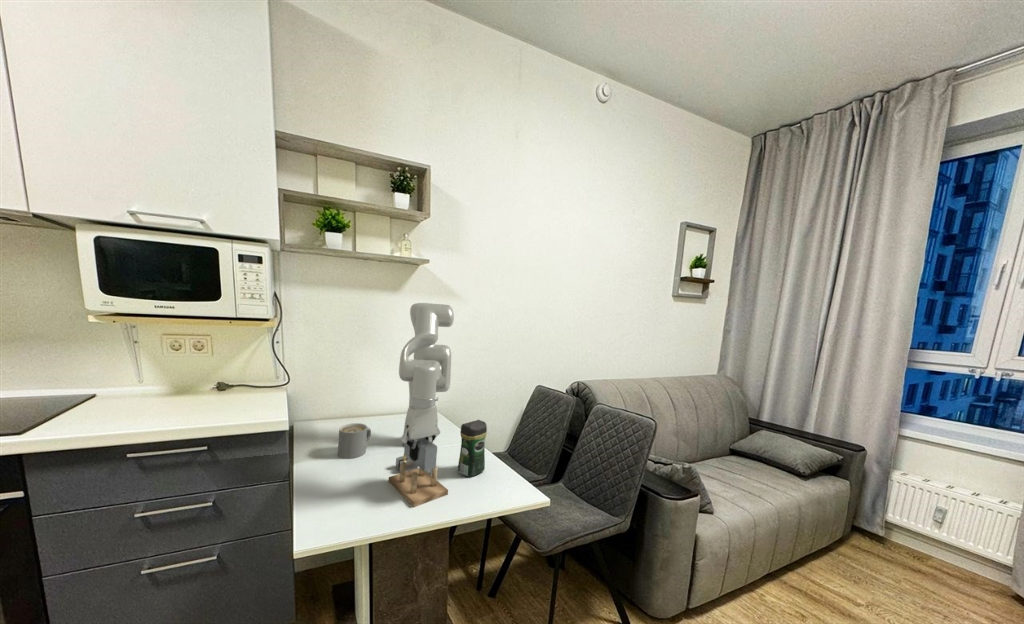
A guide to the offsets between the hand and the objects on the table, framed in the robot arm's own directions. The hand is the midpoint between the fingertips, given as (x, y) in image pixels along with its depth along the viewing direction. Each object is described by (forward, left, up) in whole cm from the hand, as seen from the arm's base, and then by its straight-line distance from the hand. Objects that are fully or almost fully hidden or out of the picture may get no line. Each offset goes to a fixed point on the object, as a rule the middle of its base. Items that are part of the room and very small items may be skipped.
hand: (419, 456), depth 115 cm
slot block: (-3, -14, -10) cm, 18 cm away
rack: (0, 0, -10) cm, 10 cm away
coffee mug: (+7, -37, -11) cm, 39 cm away
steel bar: (0, 0, -1) cm, 1 cm away
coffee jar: (-21, +1, -11) cm, 24 cm away
